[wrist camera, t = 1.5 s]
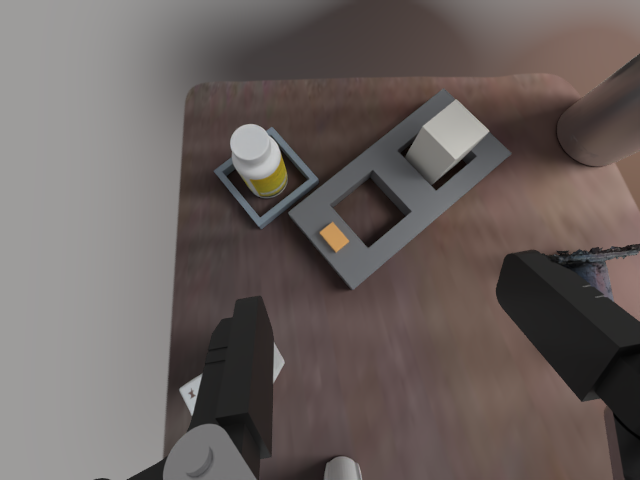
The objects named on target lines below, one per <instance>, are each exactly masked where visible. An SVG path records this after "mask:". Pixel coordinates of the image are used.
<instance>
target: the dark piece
mask: <svg viewBox="0 0 640 480" xmlns="http://www.w3.org/2000/svg"><path fill="white" fill-rule="evenodd" d="M602 248H603V247H602ZM602 248H601V249H599V247H597V248H592V249H591V250H590V251H589V252H587V251H585V250H584V251H585V252H584V251H582V250H580V249H579V250H578V251H576V252H573V254H572V255H569V254H568V253H569V251H556V252H558V253H559V254H560V255H556V254H554V255H553V256H552V255H551V256H547V255H545V254H542V255H543V256H545V257H546V258H547V259H548V260H550V261H551V262H552V263H557V264H559V265H561V266H563V267H565V268H567V269H569V270H572V271H574V272H575V273H577V274H578V275H579V276H581V277H582V278H583V279H585V280H586V281H587V282H588V283H590V285H591V287H595V288H596V289H598V290H599V291H600V292H601V293H603V294H604V297H608V298H609V299H611V300H612V301H613V302H614V300H613V295H612V290H611V285H610V280H609V275H608V269H607V266H606V262H605V261H606V260H610V259H613V258H615V257H616V259H618V257H623V259H624V258H625V257H626V256H627V255H629V256H630V255H637V254H638V253H639V251H640V244H636V245H630V246H629V245H627V246H626V247H623V248H621V247H613V246H612V247H611V248H610V249H607V250H603V251H601V250H602ZM567 252H568V253H567ZM562 253H565V254H562Z"/></svg>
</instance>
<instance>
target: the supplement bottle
mask: <svg viewBox="0 0 640 480" xmlns="http://www.w3.org/2000/svg"><path fill="white" fill-rule="evenodd" d="M230 146H231V150H232V162H233V165H234V167H235V169H236V170H237V172H238V173H239V174H240V176H241V177H242V179H243V180H244V182H245V183H246V185H247V186H248V188H249V189H250V190H251V191H252V193H254V194H255V195H256V196H258V197H261V198H273V197H275V196H277V195H279V194H280V193H281V192H282V191H283V190H284V189H285V187H286V185H287V181H288V175H287V171H286V168H285V164H284V161H283V158H282V155H281V151H280V149H279V146H278V144H277V143H276V142H275V140H274V139H273V138H271V137H270V136H268V134H267V132H266V131H265V130H264V129H263V128H262V127H260V126H258V125H254V124H247V125H243V126H241V127H239V128H238V129H237V130H236V131H235V132H234V133H233V135H232V137H231V140H230Z"/></svg>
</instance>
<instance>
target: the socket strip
mask: <svg viewBox="0 0 640 480" xmlns="http://www.w3.org/2000/svg"><path fill="white" fill-rule="evenodd" d="M412 143H413V144H412ZM411 144H412V146H411V147H410V149H409V151H408V153H407V154H406V156H405V158H404V157H403V156H402V155H401V154H400V153H401V152H402V151H403V150H405V149H406V148H407V147H408V146H409V145H411ZM511 154H512V153H511V152H510V151H509V150H508V149H507V148H506V147H505V146H504V145H502V144H501V143H500V142H499V141H498V140H497V139H496V138H495V137H494V136H493V135H492V134H491V133H490V132H489V130H488V129H487V128H486V127H485V126H484V125H483V124H482V123H481V122H480V121H479V120H478V119H477V118H475V117H474V116H473V115H472V114H471V113H470V112H469V111H468V110H467V109H466V108H465V107H464V106H463V105H462V104H461V103H460V102H459V101H458V100H457V99H456V100H455V99H454V98H453V97H452V96H451V95H450V94H449V93H448V92H447V91H446V90H445V89H444V88H443V89H442V90H441V91H440V92H438V93H437V94H436V95H435V96H433V97H432V98H431V99H430V100H428V101H427V102H426V103H425V104H423V105H422V106H421V107H420V108H418V109H417V110H416V111H415V112H413V113H412V114H411V115H410V116H408V117H407V118H406V119H405V120H403V121H402V122H401V123H400V124H398V125H397V126H396V127H394V128H393V129H392V130H391V131H389V132H388V133H387V134H386V135H384V136H383V137H382V138H381V139H379V140H378V141H377V142H376V143H374V144H373V145H372V146H371V147H369V148H368V149H367V150H366V151H364V152H363V153H362V154H361V155H359V156H358V157H357V158H356V159H354V160H353V161H352V162H351V163H349V164H348V165H347V166H346V167H344V168H343V169H342V170H341V171H339V172H338V173H337V174H336V175H334V176H333V177H332V178H331V179H329V180H328V181H327V182H326V183H324V184H323V185H322V186H321V187H319V188H318V189H317V190H316V191H314V192H313V193H312V194H311V195H309V196H308V197H307V198H305V199H304V200H303V201H302V202H300V203H299V204H298V205H297V206H295V207H294V208H293V209H292V210H290V211H289V212H288V214H289V216H290V218H291V219H292V220H293V222H294V223H295V224H296V225H297V226H298V228H299V229H300V230H301V231H302V232H303V233H304V235H305V236H306V237H307V238H308V239H309V241H310V242H311V243H312V244H313V245H314V247H315V248H316V249H317V250H318V251H319V252H320V254H321V255H322V256H323V257H324V258H325V260H326V261H327V262H328V263H329V264H330V266H331V267H332V268H333V269H334V270H335V271H336V273H337V274H338V275H339V276H340V277H341V279H342V280H343V281H344V282H345V283H346V285H347V286H348V287H349V288H350V289H351V290H353V289H355V288H356V287H357V286H358V285H359V284H360V283H362V282H363V281H364V280H365V279H366V278H367V277H369V276H370V275H371V274H372V273H373V272H374V271H376V270H377V269H378V268H379V267H380V266H381V265H383V264H384V263H385V262H386V261H387V260H388V259H390V258H391V257H392V256H393V255H394V254H395V253H397V252H398V251H399V250H400V249H401V248H402V247H404V246H405V245H406V244H407V243H408V242H409V241H411V240H412V239H413V238H414V237H415V236H416V235H418V234H419V233H420V232H421V231H422V230H423V229H425V228H426V227H427V226H428V225H429V224H430V223H432V222H433V221H434V220H435V219H436V218H437V217H439V216H440V215H441V214H442V213H443V212H444V211H446V210H447V209H448V208H449V207H450V206H451V205H453V204H454V203H455V202H456V201H457V200H458V199H460V198H461V197H462V196H463V195H464V194H465V193H467V192H468V191H469V190H470V189H471V188H472V187H474V186H475V185H476V184H477V183H478V182H479V181H481V180H482V179H483V178H484V177H485V176H486V175H487V174H489V173H490V172H491V171H492V170H493V169H494V168H496V167H497V166H498V165H499V164H500V163H501V162H503V161H504V160H505V159H506V158H507V157H508V156H510V155H511ZM461 160H463V161H464V162H465V163H466V164H467V165H466V166H465V167H464V168H463V169H462V170H460V171H459V172H458V173H457V174H456V175H454V176H453V177H452V178H451V179H450V180H448V181H447V182H446V183H445V184H444V185H443V186H441V187H440V188H439V189H438V190H437V191H436V190H435V189H434V188H433V187H432V186H431V185H433V184H434V183H435V182H436V181H437V180H439V179H440V178H441V177H442V176H443V175H445V174H446V173H447V172H448V171H449V170H451V169H452V168H453V167H454V166H455V165H456V164H458V163H459V162H460V161H461ZM369 178H371V179H372V180H373V181H374V182H375V183H376V185H377V186H378V187H379V188H380V189H381V190H382V191H383V192H384V193H385V194H386V195H387V196H388V198H389V199H390V200H391V201H392V202H393V203H394V204H395V205H396V206H397V207H398V208H399V209H400V211H401V212H402V213H403V214H404V215H405V216H406V217H405V218H403V219H402V220H401V221H400V222H399V223H398V224H396V225H395V226H394V227H393V228H392V229H390V230H389V231H388V232H387V233H386V234H385V235H383V236H382V237H381V238H380V239H379V240H377V241H376V242H375V243H374V244H373V245H372V246H370V247H369V248H367V247H366V245H365V244H364V243H363V242H362V241H361V240H360V239H359V237H358V236H357V235H356V234H355V233H354V232H353V231H352V229H351V228H350V227H349V226H348V225H347V224H346V223H345V222H344V220H343V219H342V218H341V217H340V216H339V215H338V214H337V212H336V211H335V210H334V209H333V207H334V206H336V205H337V204H338V203H339V202H341V201H342V200H343V199H344V198H345V197H347V196H348V195H349V194H350V193H352V192H353V191H354V190H355V189H357V188H358V187H359V186H360V185H361V184H363V183H364V182H365V181H366V180H368V179H369Z"/></svg>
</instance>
